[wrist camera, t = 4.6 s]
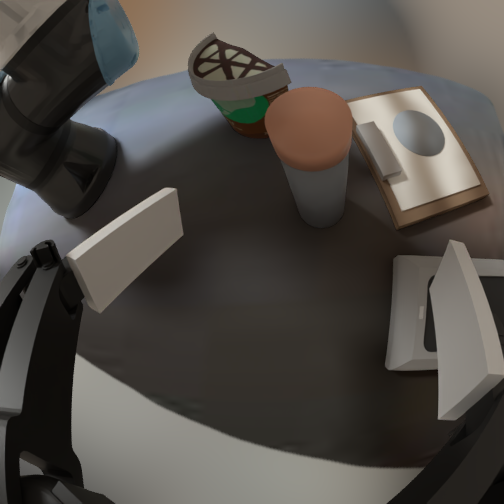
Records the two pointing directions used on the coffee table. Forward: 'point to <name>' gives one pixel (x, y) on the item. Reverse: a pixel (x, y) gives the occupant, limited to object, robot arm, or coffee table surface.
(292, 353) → the coffee table surface
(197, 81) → the food container
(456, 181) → the clipboard
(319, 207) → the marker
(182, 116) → the coffee table surface
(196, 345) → the coffee table surface
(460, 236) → the coffee table surface
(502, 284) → the grey framed panel
